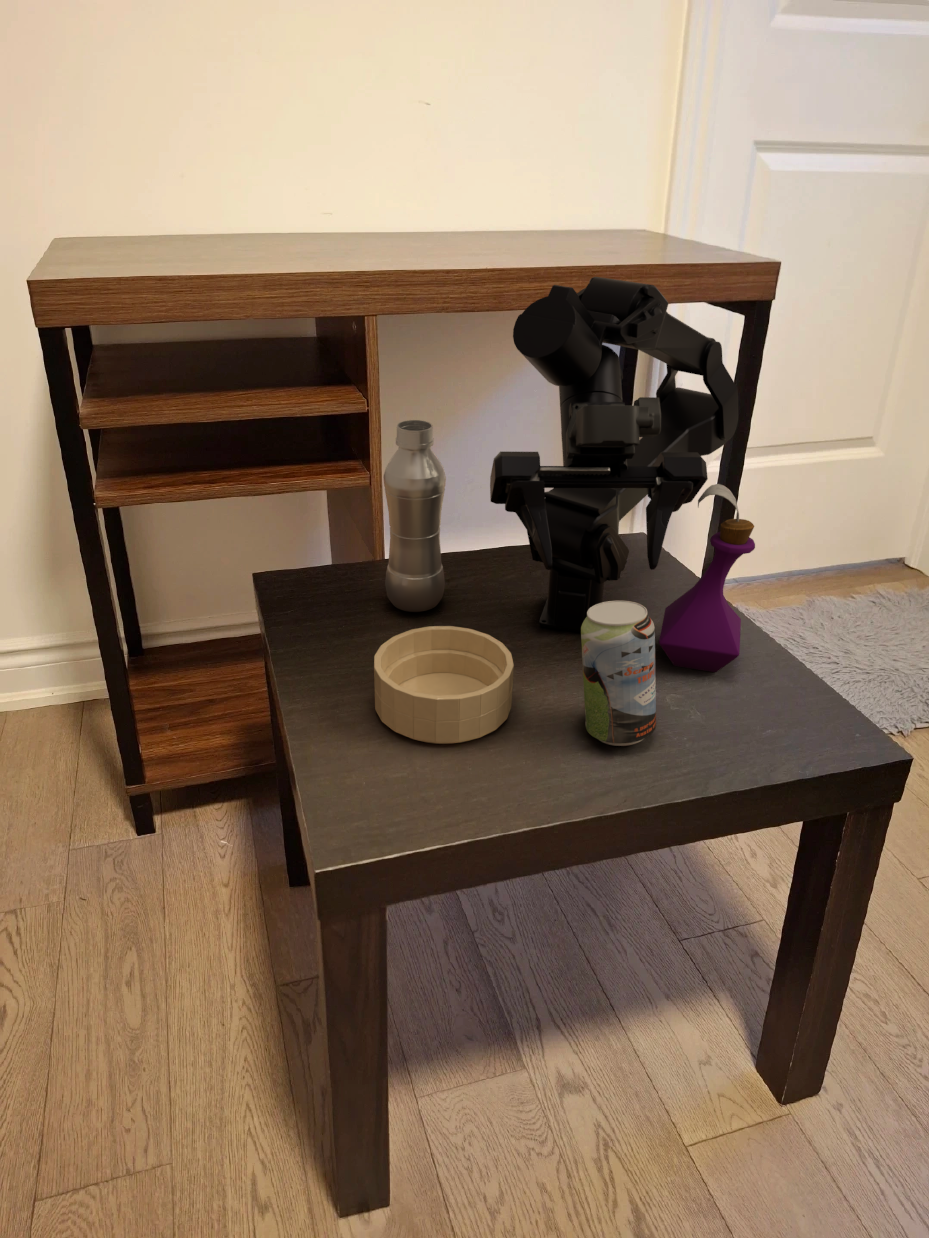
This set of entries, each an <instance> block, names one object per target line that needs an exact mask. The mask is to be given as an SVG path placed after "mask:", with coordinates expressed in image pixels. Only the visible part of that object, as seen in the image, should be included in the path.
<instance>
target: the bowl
mask: <svg viewBox="0 0 929 1238" xmlns="http://www.w3.org/2000/svg"><path fill="white" fill-rule="evenodd" d="M373 661H374V662H373V674H374V675H373V676H374V677H373V679H374V680H373V681H374V707H375V708H374V709H375V712H376V713H377V715H378V717H379V719H380V721H381V722H382V723H383V724H384V725H386V726H387V728H390V729H391V730H392V731H393V732H394V733H397V734H399V735H401V736H404V737H407V738H408V739H411V740H415V741H418V742H422V743H423V742H424V743H428V744H437V745H438V744H439V745H441V744H442V745H449V744H452V745H453V744H459V743H466V742H469V741H473V740H476V739H479V738H482V737H484V736H486V735H488V734H491V733H493V732H494V731H496V730H497V729H498V728H499V727H500V726H501V725H502V724H503V723H504V722H505V721H506V720H507V719H508V717H509V715H510V712H511V709H512V705H513V704H512V703H513V686H514V669H515V664H514V659H513V655H512V652H511V651H510V650H509V649H508V647H507V646H505V644H504V643H503V642H501V641H500V640H498V639H496V638H495V637H493V636H492V635H490V634H488V633H485V632H481V631H479V630H475V629H473V628H467V627H460V626H453V625H434V626H433V625H431V626H423V627H419V628H418V627H417V628H412V629H409V630H406V631H404V632H401V633H399V634H396V635H393V636H392V637H390V638H389V639H388V640H386V641H385V642H384V643H382V644H381V645H380V646H379V648H378V649H377V651H376V652H375V654H374V656H373Z"/></svg>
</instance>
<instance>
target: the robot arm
mask: <svg viewBox="0 0 929 1238" xmlns="http://www.w3.org/2000/svg"><path fill="white" fill-rule="evenodd" d="M668 307H669V301H668V300H667V298H666V297H665V296H664V295H663V294H662V292H661V291H660V290H659V288H658V287H657V286H656V285H654V284H650V283H641V282H635V281H629V280H621V279H616V278H615V279H614V278H607V277H601V276H593V277H591V278H590V279H589V283H588V284H587V285H586V287H585V288H582V289H581V290H579V291H578V292H577V291H576V290H575V289H574V287H571V286H564V285H560V284H559V285H558V284H553V285H552V286H551V288H550V290H549V292H548V295H547V296H544V297H542V298H539V299H537V300H535V301H533V302H532V303H531V304H529V305H528V306H527V307H526V308H525V309H524V310H523V312H522V313H520V314H519V315H518V316H517V318H516V320H515V322H514V326H513V329H512V339H513V344H514V346H515V348H516V350H517V351H518V352H519V353H520V354H521V355H522V356H523V357H524V358H525V359H526V360H527V362H529V363H530V364H531V365H532V367H534V369H536V371H537V372H538V373H539V374H540V375H541V376H542V377H543V378H544V379H545V380H546V381H547V383H549V384H552V385H554V386H556V387H558V396H559V409H560V410H559V412H560V414H559V415H560V429H561V431H560V433H561V434H560V436H561V449H562V450H561V452H562V465H541V455H540V452H539V451H499V452H498V453H497V454H496V456H494V458H493V461H492V467H491V472H490V476H489V478H490V479H489V495H490V496H489V497H490V503H493V504H495V505H504V510H505V511H506V512H507V513H515V514H516V516H517V517H518V519H519V520H520V522H521V524H522V525H523V526H524V528H525V530H526V533H527V540H528V543H529V548H530V552H531V558H532V561H534V562H536V563H537V562H540V563H541V564H543V565H544V568H545V570H546V571H549V577H548V578H549V579H548V593H547V598H546V601H545V604H544V605H543V606H544V607H543V610H542V612H541V615H540V618H539V620H538V626H539V627H541V628H547V629H548V628H549V629H555V630H562V631H569V632H576V633H581V626H582V624H583V621H584V620H585V618H586V617H587V611H588V610H589V609H590V608H591V607H592V606H594V605H596V604H599V603H602V602H603V597H604V589H605V583H606V582H608V581H618V580H620V579H621V573H622V572H623V571H624V570H625V568H626V565H627V563H628V558H629V554H630V549H629V548H628V546H627V545H626V543H625V542H624V541H623V539H622V538H621V536H620V534H619V531H620V522H621V520H623V518H624V517H625V516H627V515H628V513H629V512H631V511H632V510H633V509H634V508H635V507H636V506H637V505H638V504H639V503H640V502H641V501H642V500H643V499H644V498H646V497H648V498H649V499H650V500H649V502H648V504H647V505H646V507H645V521H646V522H645V524H646V525H645V526H646V552H647V553H646V554H647V555H646V556H647V561H648V567H649V570H652V571H654V570H655V569H656V568H657V567H658V564H659V560H660V558H661V557H660V556H661V553H662V549H663V545H664V541H665V537H666V533H667V529H668V526H669V523H670V520H671V518H672V514H673V513H676V512H678V511H679V510H680V509H681V507H682V506H683V505H686V504H690V503H692V502H693V500H694V499H695V497H696V496H697V495H698V493H699V492H700V491H701V489H702V488H703V487H704V485H705V484H706V483H707V481H708V479H709V478H708V469H707V468H708V467H707V462H706V460H705V459H704V458H703V456H708V455H711V454H712V453H714V452H715V451H717V450H719V449H720V448H721V447H723V446H724V445H726V443H727V442H728V441H730V440H731V438H733V436H734V434H735V432H736V430H737V427H738V423H739V389H738V387H737V385H736V382H734V380H733V378H732V376H731V375H730V373H729V371H728V369H727V367H726V366H725V364H724V361H723V347H722V344H721V342H720V341H717V340H716V339H715V338H714V337H709V336H706V335H705V334H703V333H701V332H699V331H698V330H696V329H695V328H693V327H691V326H689V325H688V324H686V323H685V322H683V321H681V320H680V319H678V318H676V317H675V316H673V315H672V314H670V313H669V312H668V311H667V310H668ZM605 344H606V345H605ZM607 344H608V345H612V346H619V347H624V348H628V349H633V350H638V351H640V352H642V353H644V354H646V355H648V356H650V357H652V358H654V359H656V360H658V361H660V362H662V363H664V364H666V374H665V376H664V377H663V379H662V381H661V383H660V385H659V386H658V388H657V390H656V391H655V397H651V396H650V397H645V396H644V397H643V396H642V397H639V398H637V399H635V400H634V401H633V405H629V404H628V405H627V404H626V402H624V401H623V390H622V389H623V388H622V380H623V379H624V374H623V371H622V368H621V363H620V357H619V355H618V354H617V352H616V351H614V349H612V348H611V347H610V346H607ZM678 372H682V373H686V374H690V375H691V374H692V375H697V376H702V380H703V383H704V385H705V387H706V389H707V390H708V392H709V393H708V392H703V391H698V390H693V389H689V388H683V387H680V386H679V387H677V385H676V376H677V374H678ZM545 489H550V490H549V491H545Z"/></svg>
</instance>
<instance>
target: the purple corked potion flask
mask: <svg viewBox="0 0 929 1238" xmlns="http://www.w3.org/2000/svg"><path fill="white" fill-rule="evenodd" d="M709 496H719V497H721V498H724V499H726V500H727V501H729V503H731V504H732V505H733V507H734V508H735V510H736V517H735V518H730V519H726V520H725V521H723V522H722V523H720V529H719V532H716V533H714V534H713V535H711V537H710V538H709V539H710V540H709V542H710V545H711V547H713V548H714V553H715V554H714V556H713V558H712V561H711V562H710V564H709V565H708V567H707V569H706V570H705V571H704V572H703V574H702V575H701V577H700V578H699V580H697V582H696V583H695V584H694V586H692V587H691V588H690V589H689V590H687V591H685V593H683V594H682V595H681V596H679V597H678V598H676V600H674V601H673V602H671V603H670V604H669V605H667V606H665V608H664V612H663V613H664V614H663V617H662V624H661V629H660V634H659V638H658V639H659V640H658V644H659V646H660V647H661V649H662V650H663V651H664V653H665V655H666V656H667V658H668V659H669V661H670V662H671V664H672V665H673V666H675V667H680V668H685V669H690V670H691V669H692V670H698V671H703V672H704V671H705V672H710V673H717V672H719V671H720V670H721V669H723V668H724V667H726V666H727V665H728V664H729V663H731V662H733V661H734V660H735V659H737V658H738V657H739V656H740V649H741V625H742V619H741V617H740V616H739V615H738V614H737V612H736V611H734V609H733V608H732V606H730V605H729V603H728V601H727V599H726V597H725V595H724V587H725V583H726V580H727V577H728V575H729V573H730V570H731V568H732V567H733V566H734V565H735V563H736V562H737V560H738V559H739V558H740V557H742V556H743V555H747V554H750V553H752V552H753V551H755V549H756V542H755V541H754V538H751V537H750V536H751V534H752V532H753V530H754V529H755V525H754V523H753V522H752V521H750V520H748V519H744V518H740V512H739V508H738V502H737V499H736V497H735V495H734V494H733V492H732V491H731V490H730V489H729V488H728V487H726V486H725V485H723V484H721V483H716V484H711V485H710V486H708V487H707V488H706V489H705V490H704V491H703V492H702V494H701V495H700V497H699V498H698V499H697V508H700V507H699V506H700V503H702V501H704V499H705V498H707V497H709Z"/></svg>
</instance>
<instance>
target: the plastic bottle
mask: <svg viewBox="0 0 929 1238" xmlns="http://www.w3.org/2000/svg"><path fill="white" fill-rule="evenodd" d="M395 445H396V446H397V447H398V448H397V450H396V451H395V453H394V454H393V455H392V457H391V458H390V459H389V461H388V463H387V464H386V467H385V470H384V473H383V486H384V493H385V498H386V504H387V510H388V525H389V549H388V550H389V551H388V552H389V553H388V563H387V567H386V571H385V580H384V587H385V592H386V596H387V599H388V601H390V603H391V604H392V605H393V607H395V608H396V609H398V610H400V611H403V612H409V613H420V612H421V613H422V612H427V611H429V610H432V609H433V608H436V606H437V605H438V604H440V602H441V601H442V599H443V597H444V592H445V588H446V580H445V579H446V578H445V571H444V566H443V564H442V563H443V562H442V549H441V524H442V523H441V522H442V510H443V502H444V497H445V491H446V484H447V474H446V471H445V468H444V465H443V464H442V462H441V460H440V459H439V458H438V456H437V455H436V454H435V452H434V450H432V449H433V448H432V447H433V446H434V445H435V438H434V426H433V424H432V423H431V422H429V421H426V420H423V419H422V420H421V419H409V420H402V421H400V422H398V423H397V424H396V437H395Z"/></svg>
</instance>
